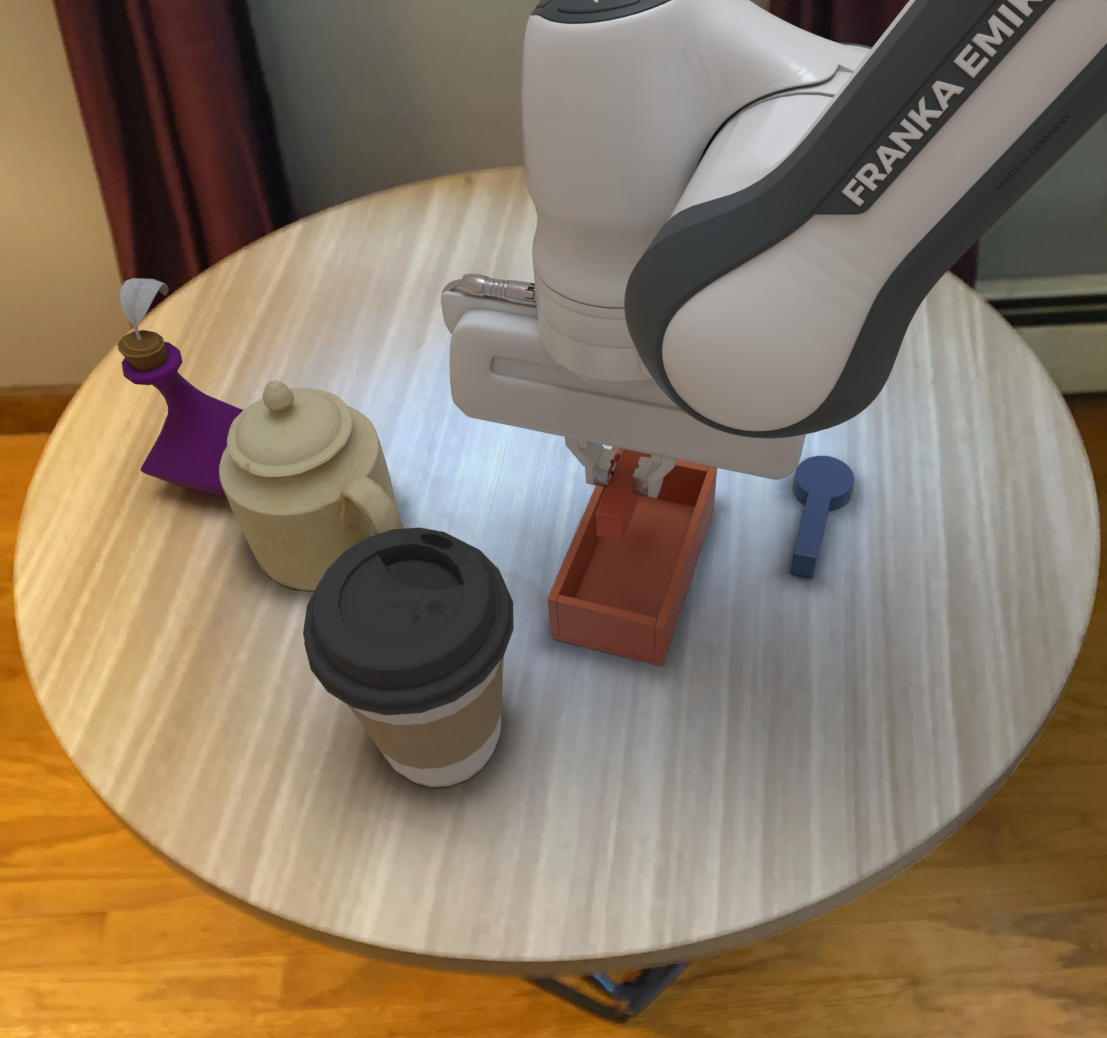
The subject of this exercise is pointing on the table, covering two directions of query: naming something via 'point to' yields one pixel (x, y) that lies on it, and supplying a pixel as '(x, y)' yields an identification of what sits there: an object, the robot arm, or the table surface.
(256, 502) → the sugar bowl
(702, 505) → the red bin
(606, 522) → the red spoon
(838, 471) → the blue spoon
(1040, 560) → the table surface
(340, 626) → the coffee cup
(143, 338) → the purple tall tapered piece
